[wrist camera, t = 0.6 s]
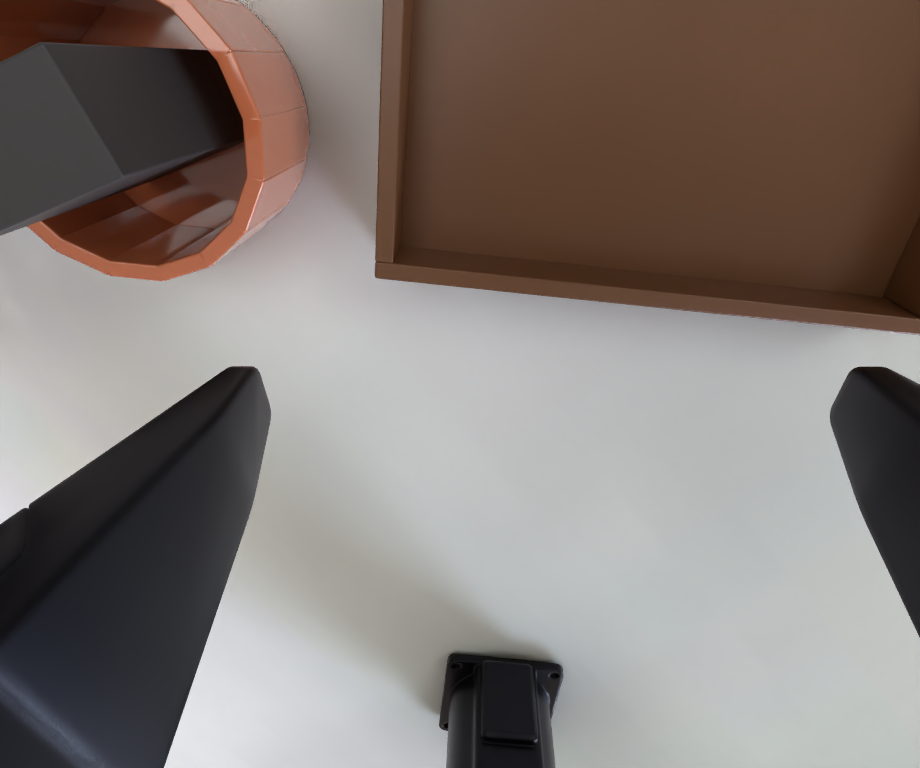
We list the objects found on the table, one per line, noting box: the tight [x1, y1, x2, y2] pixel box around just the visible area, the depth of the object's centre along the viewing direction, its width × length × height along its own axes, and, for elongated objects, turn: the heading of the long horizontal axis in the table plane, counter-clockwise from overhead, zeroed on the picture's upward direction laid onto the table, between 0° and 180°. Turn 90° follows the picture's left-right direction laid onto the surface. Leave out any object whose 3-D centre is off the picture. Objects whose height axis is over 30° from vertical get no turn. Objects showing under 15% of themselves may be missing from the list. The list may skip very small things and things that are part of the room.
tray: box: [375, 0, 920, 335], centre depth 18 cm, size 14×19×3 cm
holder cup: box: [0, 0, 309, 281], centre depth 18 cm, size 8×8×5 cm
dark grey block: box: [0, 42, 244, 235], centre depth 16 cm, size 3×5×9 cm, turn 111°
